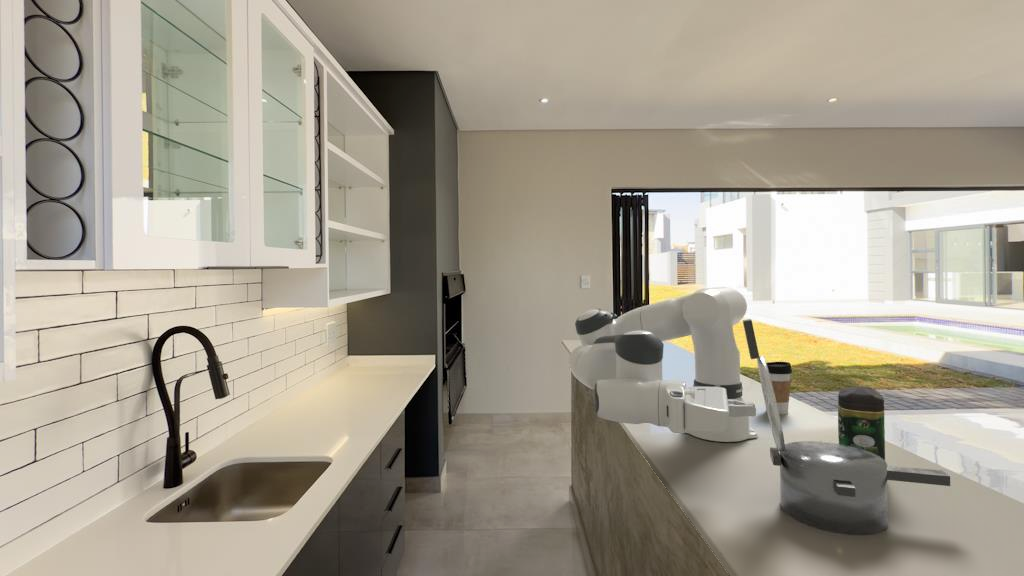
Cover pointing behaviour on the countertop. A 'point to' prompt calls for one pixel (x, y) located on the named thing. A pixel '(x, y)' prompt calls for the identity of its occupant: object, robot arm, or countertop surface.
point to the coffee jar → (861, 419)
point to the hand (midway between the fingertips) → (755, 409)
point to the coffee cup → (781, 383)
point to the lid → (765, 386)
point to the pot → (841, 485)
